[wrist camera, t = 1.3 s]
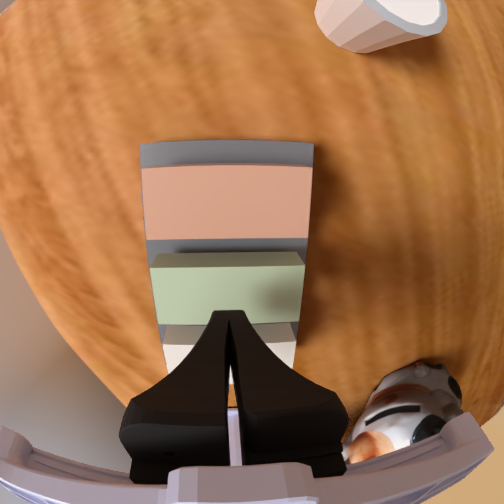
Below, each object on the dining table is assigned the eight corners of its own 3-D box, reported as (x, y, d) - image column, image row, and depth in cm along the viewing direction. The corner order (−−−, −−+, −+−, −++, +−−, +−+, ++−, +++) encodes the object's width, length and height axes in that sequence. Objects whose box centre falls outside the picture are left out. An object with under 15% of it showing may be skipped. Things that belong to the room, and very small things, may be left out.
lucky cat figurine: (357, 440, 31) (344, 516, 19) (333, 377, 32) (312, 456, 19) (458, 407, 26) (480, 479, 13) (447, 335, 26) (486, 403, 13)
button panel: (288, 345, 23) (293, 361, 21) (169, 348, 22) (165, 364, 20) (304, 143, 17) (313, 143, 16) (148, 143, 16) (140, 144, 15)
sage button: (291, 303, 18) (298, 321, 16) (164, 305, 17) (158, 324, 15) (296, 251, 17) (305, 265, 15) (157, 253, 16) (149, 267, 14)
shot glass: (290, -10, 13) (318, -63, 7) (369, -15, 13) (414, -52, 6) (328, 68, 16) (378, 37, 9) (404, 56, 15) (464, 37, 9)
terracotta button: (298, 226, 16) (307, 237, 14) (155, 228, 15) (146, 239, 13) (301, 164, 15) (312, 167, 13) (151, 165, 14) (141, 168, 12)
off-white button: (285, 361, 20) (290, 380, 18) (174, 363, 19) (171, 383, 17) (289, 322, 18) (296, 341, 17) (167, 325, 18) (162, 344, 16)
